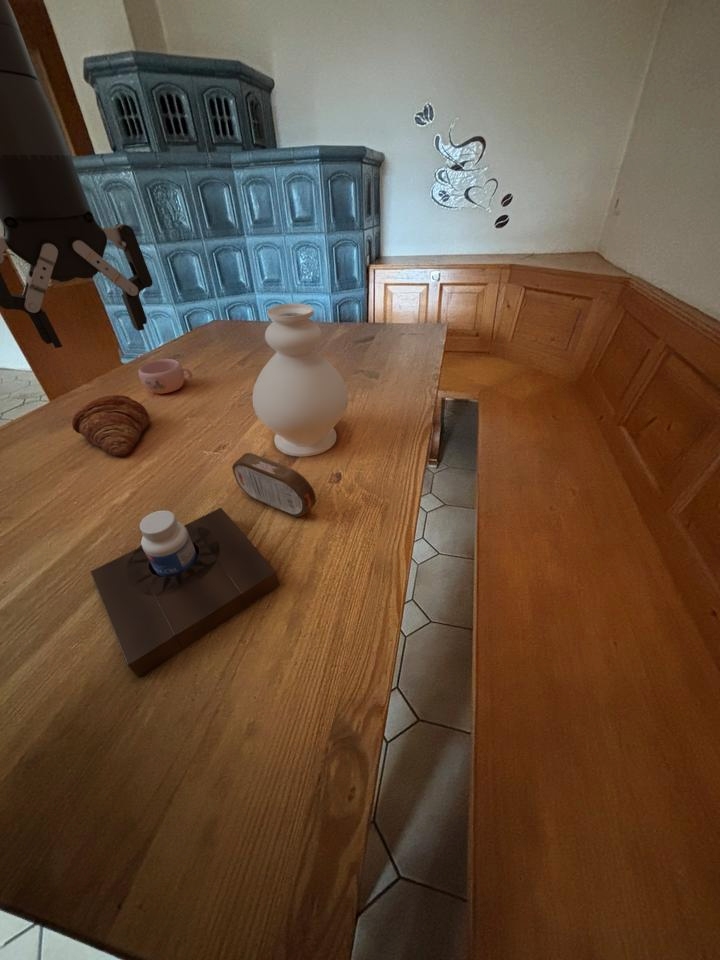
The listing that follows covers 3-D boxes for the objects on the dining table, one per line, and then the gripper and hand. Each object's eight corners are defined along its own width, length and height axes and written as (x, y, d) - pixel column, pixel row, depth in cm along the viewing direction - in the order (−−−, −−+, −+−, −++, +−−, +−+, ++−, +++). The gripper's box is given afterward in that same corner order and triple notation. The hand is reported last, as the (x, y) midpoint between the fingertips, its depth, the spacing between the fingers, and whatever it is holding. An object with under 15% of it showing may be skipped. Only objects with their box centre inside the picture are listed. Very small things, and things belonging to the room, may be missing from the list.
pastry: (177, 421, 84) (164, 387, 79) (124, 461, 73) (105, 424, 68) (116, 410, 88) (100, 377, 83) (57, 446, 77) (35, 411, 72)
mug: (140, 399, 92) (131, 376, 89) (151, 381, 100) (143, 359, 96) (192, 395, 94) (185, 372, 90) (199, 378, 101) (192, 356, 98)
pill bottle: (150, 582, 51) (121, 533, 45) (174, 552, 55) (150, 502, 49) (186, 591, 50) (161, 541, 44) (208, 559, 54) (188, 509, 48)
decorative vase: (366, 432, 80) (365, 304, 64) (311, 476, 69) (294, 335, 53) (301, 409, 88) (287, 290, 72) (242, 445, 77) (210, 315, 61)
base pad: (138, 678, 42) (127, 665, 40) (98, 581, 52) (88, 567, 50) (279, 585, 51) (276, 571, 49) (222, 518, 61) (218, 504, 59)
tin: (318, 514, 61) (314, 473, 56) (307, 527, 59) (301, 485, 54) (248, 484, 67) (238, 444, 62) (235, 494, 65) (224, 454, 60)
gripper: (-91, 148, 28) (32, 363, 38) (118, 150, 35) (174, 331, 45) (-88, 151, 32) (22, 343, 43) (97, 153, 40) (153, 317, 50)
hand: (100, 337), depth 44 cm, fingers open, 8 cm apart
